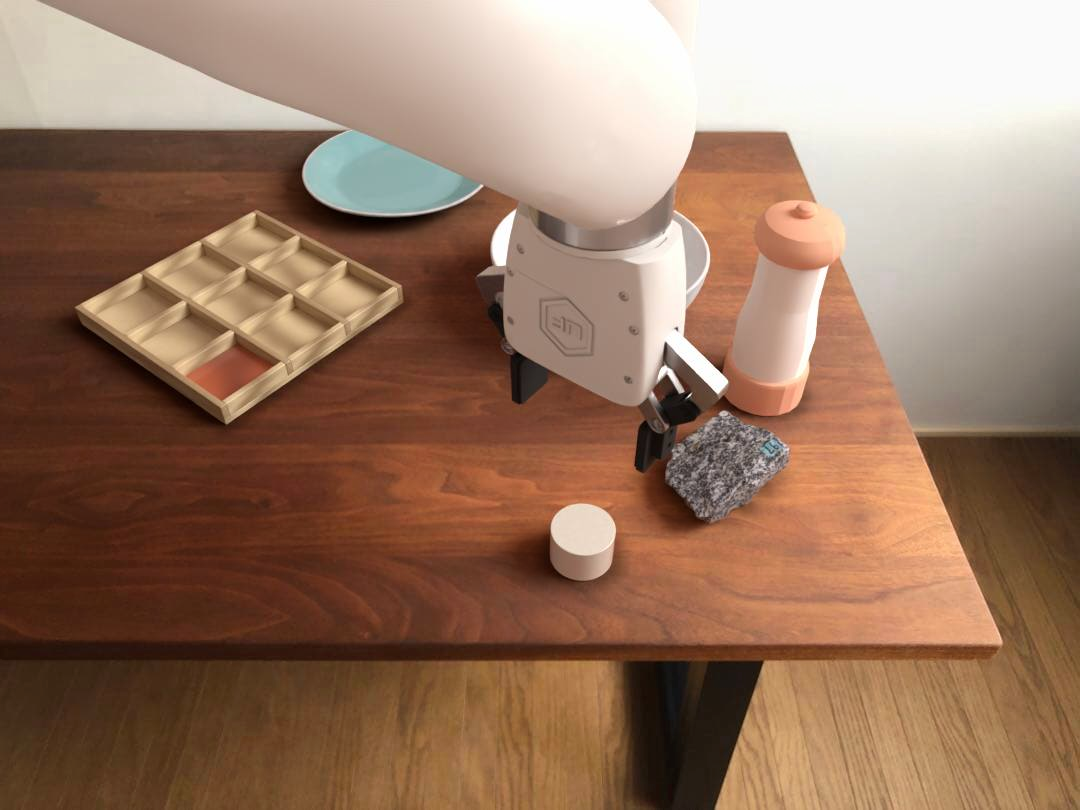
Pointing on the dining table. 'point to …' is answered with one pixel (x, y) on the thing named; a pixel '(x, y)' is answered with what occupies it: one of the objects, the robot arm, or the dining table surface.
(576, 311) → the robot arm
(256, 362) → the wooden compartment tray
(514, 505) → the dining table surface
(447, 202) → the plate
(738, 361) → the pepper shaker
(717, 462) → the rock
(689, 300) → the serving bowl
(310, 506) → the dining table surface
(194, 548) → the dining table surface
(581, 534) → the white cylinder puck
